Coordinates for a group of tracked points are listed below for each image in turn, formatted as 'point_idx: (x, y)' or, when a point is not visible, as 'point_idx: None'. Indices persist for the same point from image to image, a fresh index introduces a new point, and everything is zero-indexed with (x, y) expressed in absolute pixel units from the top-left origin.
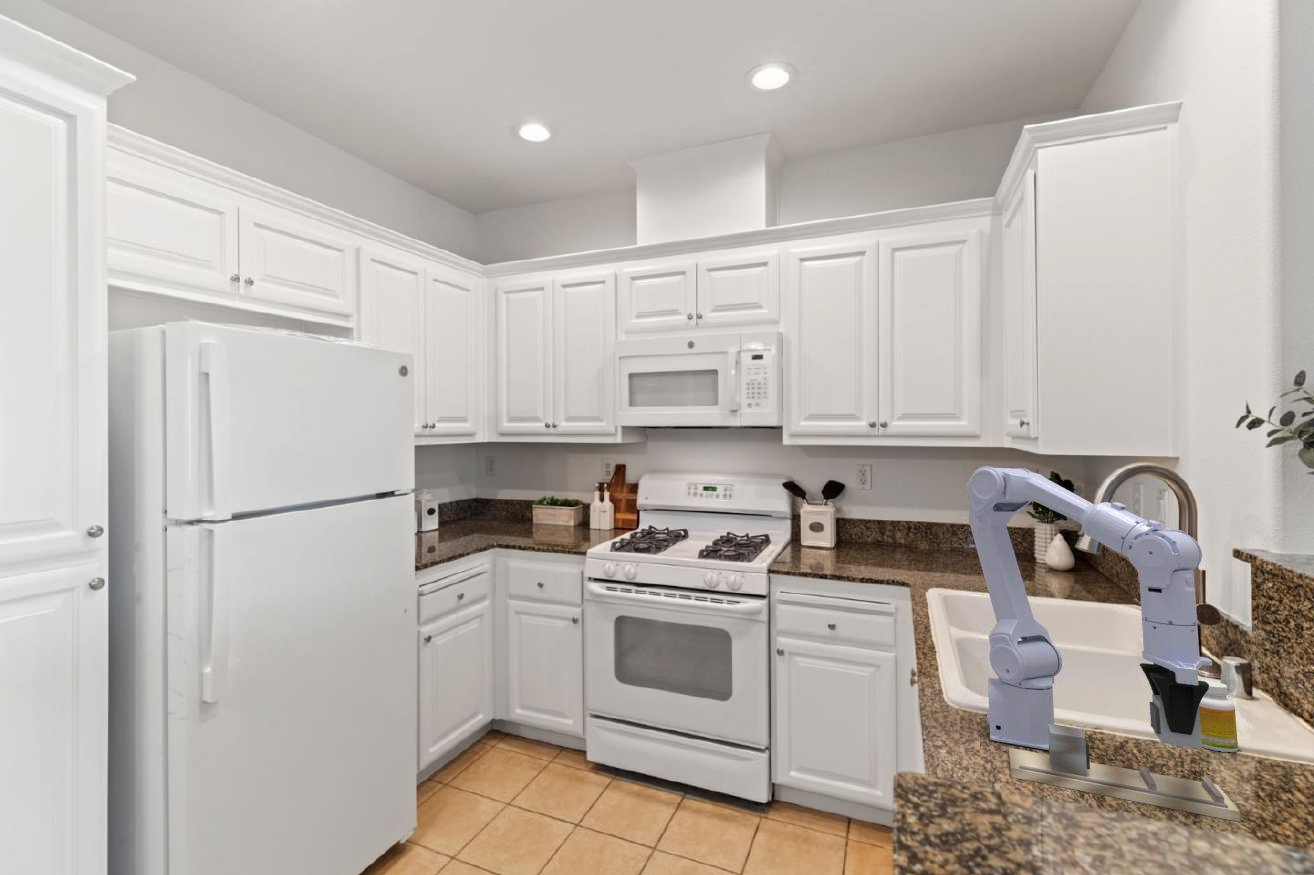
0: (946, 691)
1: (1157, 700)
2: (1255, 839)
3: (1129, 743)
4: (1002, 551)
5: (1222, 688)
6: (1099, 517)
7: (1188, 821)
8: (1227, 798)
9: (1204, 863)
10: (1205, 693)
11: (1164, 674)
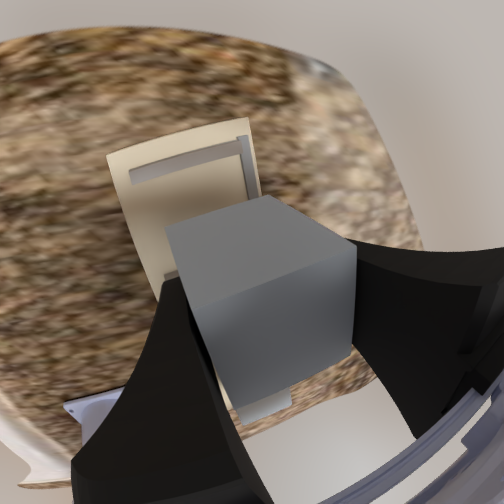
0: (49, 479)
1: (321, 370)
2: (299, 106)
3: None
4: None
5: None
6: None
7: (294, 190)
8: (186, 134)
9: (395, 176)
10: None
11: (441, 417)
